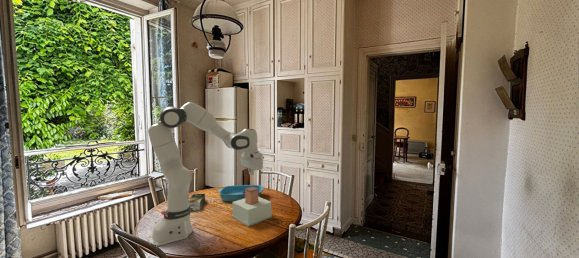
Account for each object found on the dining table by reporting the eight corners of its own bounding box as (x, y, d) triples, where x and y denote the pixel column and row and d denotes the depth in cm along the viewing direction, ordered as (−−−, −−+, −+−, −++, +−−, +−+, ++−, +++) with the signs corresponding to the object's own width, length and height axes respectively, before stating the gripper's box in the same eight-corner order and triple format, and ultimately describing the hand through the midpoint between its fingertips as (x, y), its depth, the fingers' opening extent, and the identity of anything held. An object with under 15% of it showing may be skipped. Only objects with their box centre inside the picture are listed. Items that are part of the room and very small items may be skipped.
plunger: (250, 209, 148) (250, 191, 147) (245, 206, 152) (244, 188, 151) (258, 206, 152) (258, 188, 151) (253, 203, 156) (252, 186, 156)
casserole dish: (214, 203, 177) (214, 194, 176) (221, 193, 199) (221, 185, 198) (263, 202, 179) (263, 193, 178) (265, 192, 201) (265, 184, 200)
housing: (248, 226, 139) (247, 210, 139) (231, 217, 153) (231, 202, 152) (272, 216, 152) (272, 202, 152) (255, 208, 166) (255, 194, 165)
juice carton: (200, 210, 163) (200, 202, 163) (185, 212, 162) (185, 203, 161) (205, 200, 183) (205, 193, 183) (192, 201, 182) (192, 194, 181)
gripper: (237, 152, 155) (238, 172, 156) (256, 156, 140) (256, 178, 141) (245, 151, 159) (246, 171, 160) (264, 154, 145) (264, 176, 146)
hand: (251, 174), depth 151 cm, fingers closed
